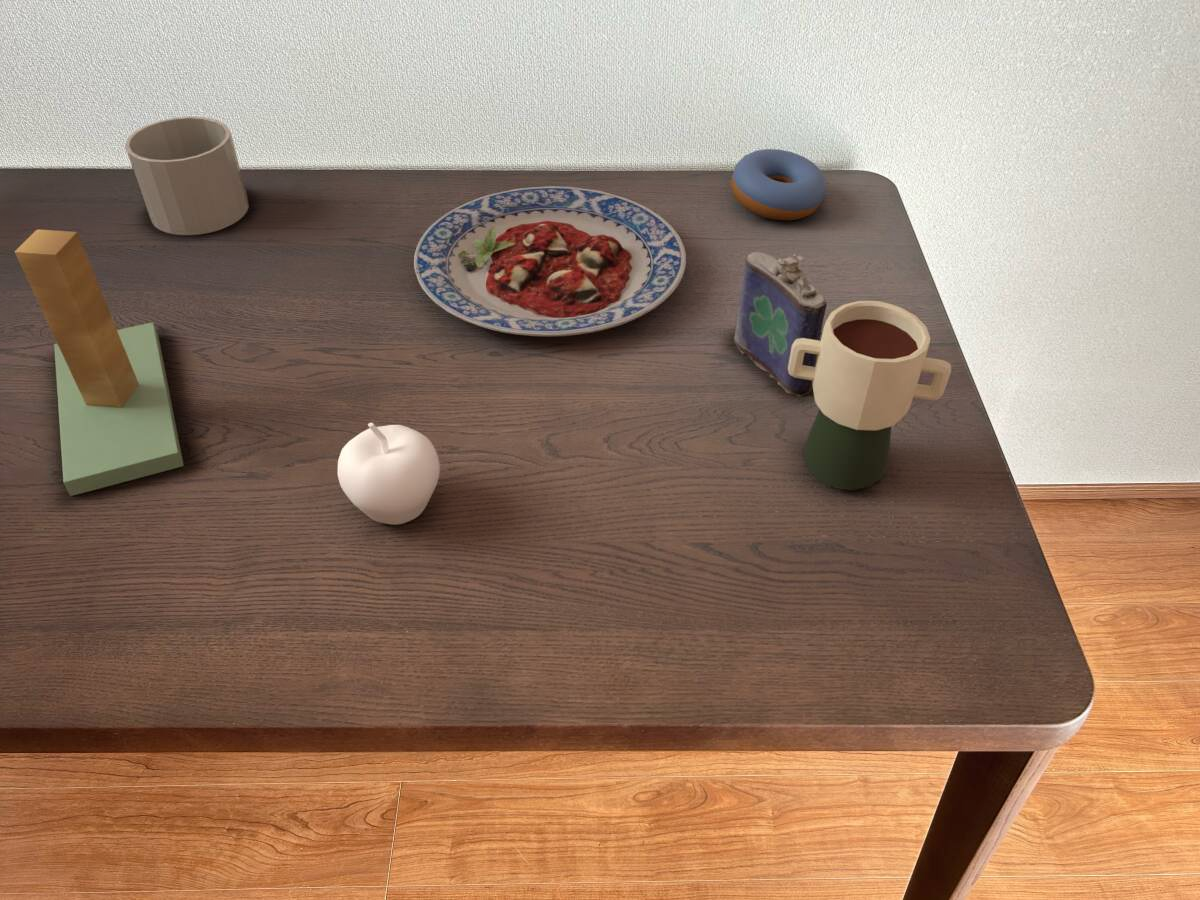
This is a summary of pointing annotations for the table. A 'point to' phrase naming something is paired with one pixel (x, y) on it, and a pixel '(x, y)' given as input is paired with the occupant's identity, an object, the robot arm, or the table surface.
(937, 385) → the character mug
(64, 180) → the table surface
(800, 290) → the flask
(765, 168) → the doughnut
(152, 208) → the tin
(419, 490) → the apple
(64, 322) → the stick
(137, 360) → the green rectangular block
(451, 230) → the ceramic plate
